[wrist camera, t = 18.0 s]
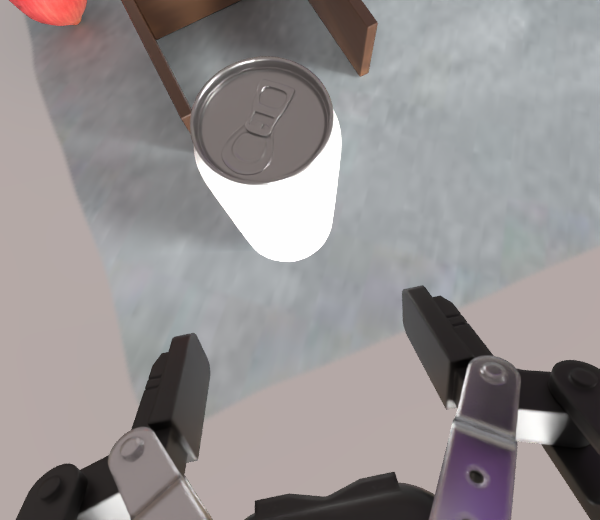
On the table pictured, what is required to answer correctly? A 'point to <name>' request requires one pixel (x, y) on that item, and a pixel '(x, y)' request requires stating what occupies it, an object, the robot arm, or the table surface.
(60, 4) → the onion
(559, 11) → the table surface
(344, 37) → the frame
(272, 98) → the can
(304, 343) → the table surface
